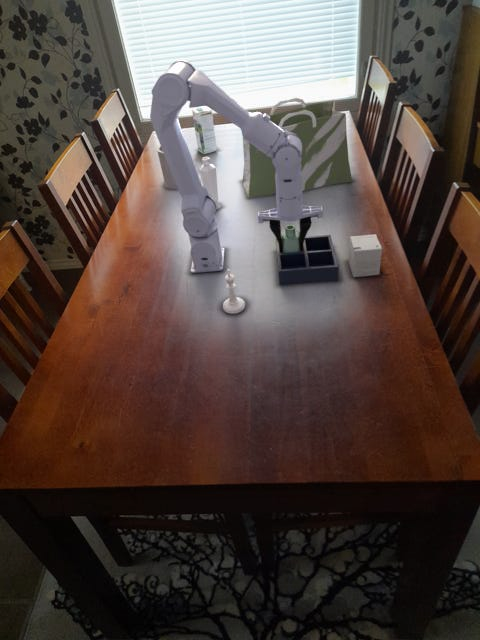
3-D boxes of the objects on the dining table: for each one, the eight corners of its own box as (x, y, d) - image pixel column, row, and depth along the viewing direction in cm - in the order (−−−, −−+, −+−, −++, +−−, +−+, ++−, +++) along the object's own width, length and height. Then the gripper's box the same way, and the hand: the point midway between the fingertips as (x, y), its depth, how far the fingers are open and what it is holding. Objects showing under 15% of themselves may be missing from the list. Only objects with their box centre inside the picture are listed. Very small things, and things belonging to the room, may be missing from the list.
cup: (184, 174, 155) (177, 138, 146) (197, 182, 148) (190, 146, 140) (160, 182, 151) (152, 147, 143) (172, 191, 145) (164, 155, 137)
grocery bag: (248, 200, 136) (240, 120, 120) (242, 180, 146) (233, 104, 131) (352, 182, 137) (358, 101, 122) (338, 164, 147) (341, 87, 132)
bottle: (300, 256, 108) (300, 231, 103) (283, 258, 108) (281, 232, 104) (299, 246, 111) (298, 221, 106) (282, 248, 111) (280, 223, 107)
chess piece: (244, 298, 102) (239, 261, 95) (245, 312, 98) (240, 275, 92) (222, 300, 102) (216, 264, 96) (223, 314, 99) (216, 278, 92)
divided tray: (337, 280, 103) (338, 266, 100) (279, 285, 104) (278, 271, 102) (330, 248, 113) (330, 234, 110) (276, 252, 114) (275, 239, 111)
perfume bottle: (219, 211, 133) (212, 161, 123) (205, 211, 134) (196, 162, 124) (223, 203, 136) (216, 154, 126) (209, 203, 137) (201, 155, 127)
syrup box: (197, 150, 169) (190, 109, 159) (212, 145, 171) (206, 105, 161) (203, 155, 165) (196, 113, 155) (218, 150, 166) (212, 109, 157)
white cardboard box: (373, 260, 107) (376, 233, 102) (379, 275, 103) (382, 248, 98) (347, 262, 108) (349, 235, 103) (352, 277, 103) (354, 250, 98)
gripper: (320, 182, 102) (319, 234, 111) (256, 188, 103) (260, 239, 112) (324, 196, 96) (323, 250, 106) (256, 203, 98) (261, 255, 107)
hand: (291, 245), depth 108 cm, fingers closed on bottle, 4 cm apart
